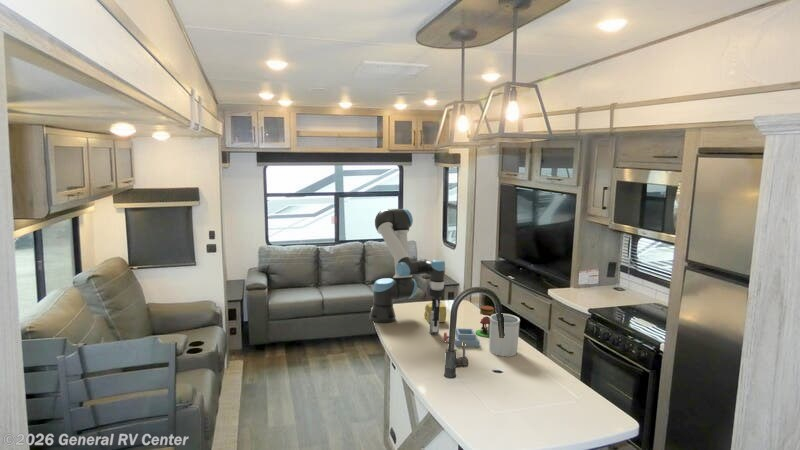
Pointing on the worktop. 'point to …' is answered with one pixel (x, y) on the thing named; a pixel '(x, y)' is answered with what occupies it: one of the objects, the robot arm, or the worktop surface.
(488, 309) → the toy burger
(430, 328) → the pipe stub
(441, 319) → the cheese
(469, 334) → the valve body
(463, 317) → the worktop surface
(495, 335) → the utensil holder
